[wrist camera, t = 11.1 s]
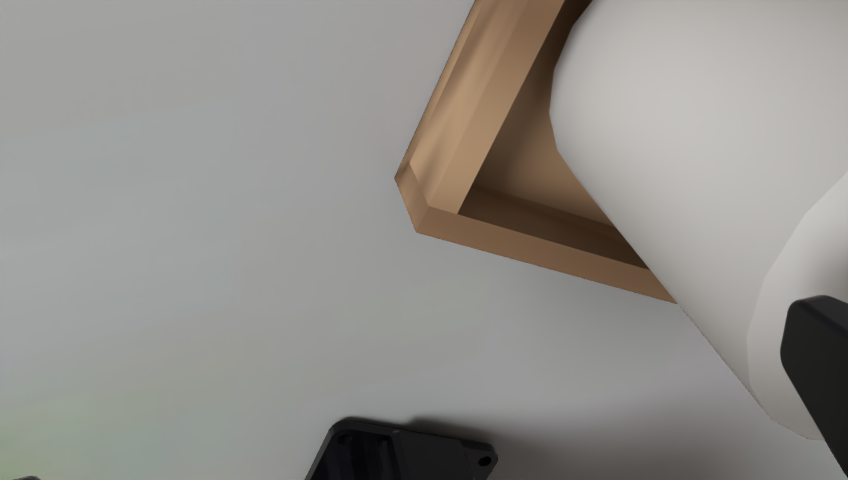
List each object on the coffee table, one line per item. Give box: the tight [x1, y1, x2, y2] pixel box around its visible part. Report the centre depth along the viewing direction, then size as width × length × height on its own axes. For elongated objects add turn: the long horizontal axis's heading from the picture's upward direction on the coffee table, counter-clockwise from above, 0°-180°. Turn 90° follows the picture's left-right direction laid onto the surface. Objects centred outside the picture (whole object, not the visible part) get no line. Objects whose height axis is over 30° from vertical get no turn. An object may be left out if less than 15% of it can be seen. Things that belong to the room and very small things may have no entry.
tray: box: [395, 0, 678, 304], centre depth 21 cm, size 12×12×3 cm
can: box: [549, 0, 848, 441], centre depth 17 cm, size 8×8×12 cm
